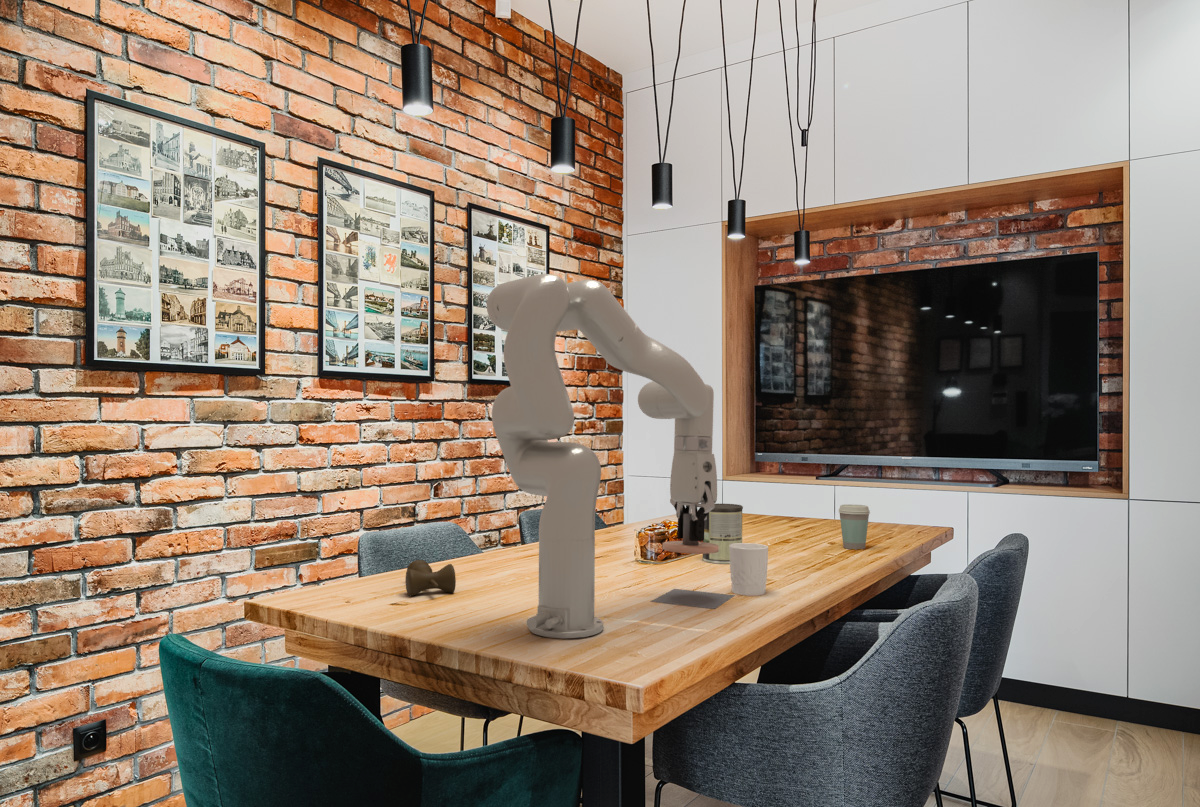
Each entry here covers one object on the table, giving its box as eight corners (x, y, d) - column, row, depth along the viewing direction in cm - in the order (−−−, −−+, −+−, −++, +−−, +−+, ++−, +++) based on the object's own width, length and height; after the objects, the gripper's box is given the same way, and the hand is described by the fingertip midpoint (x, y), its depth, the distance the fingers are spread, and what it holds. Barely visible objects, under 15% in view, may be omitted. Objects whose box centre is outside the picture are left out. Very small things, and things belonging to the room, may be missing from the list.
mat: (714, 612, 145) (714, 608, 145) (650, 604, 150) (650, 601, 150) (735, 598, 156) (735, 595, 156) (674, 591, 162) (674, 588, 162)
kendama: (439, 582, 174) (461, 598, 155) (395, 587, 170) (412, 604, 151) (439, 555, 174) (460, 568, 156) (395, 559, 170) (412, 572, 152)
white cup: (765, 591, 163) (765, 543, 163) (770, 599, 155) (770, 549, 156) (727, 590, 164) (728, 542, 164) (730, 598, 156) (730, 548, 156)
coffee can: (693, 560, 200) (693, 505, 200) (720, 555, 207) (720, 502, 207) (724, 565, 192) (724, 508, 193) (751, 561, 199) (751, 505, 199)
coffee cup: (876, 549, 219) (876, 506, 219) (855, 551, 215) (855, 507, 215) (853, 545, 226) (852, 503, 227) (832, 547, 222) (831, 505, 222)
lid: (708, 555, 146) (709, 517, 146) (653, 550, 151) (654, 513, 151) (725, 549, 155) (726, 514, 156) (674, 544, 160) (675, 510, 161)
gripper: (734, 447, 149) (732, 544, 148) (684, 445, 163) (681, 534, 162) (703, 446, 145) (700, 545, 144) (654, 444, 159) (651, 535, 158)
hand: (690, 538), depth 153 cm, fingers closed on lid, 3 cm apart
